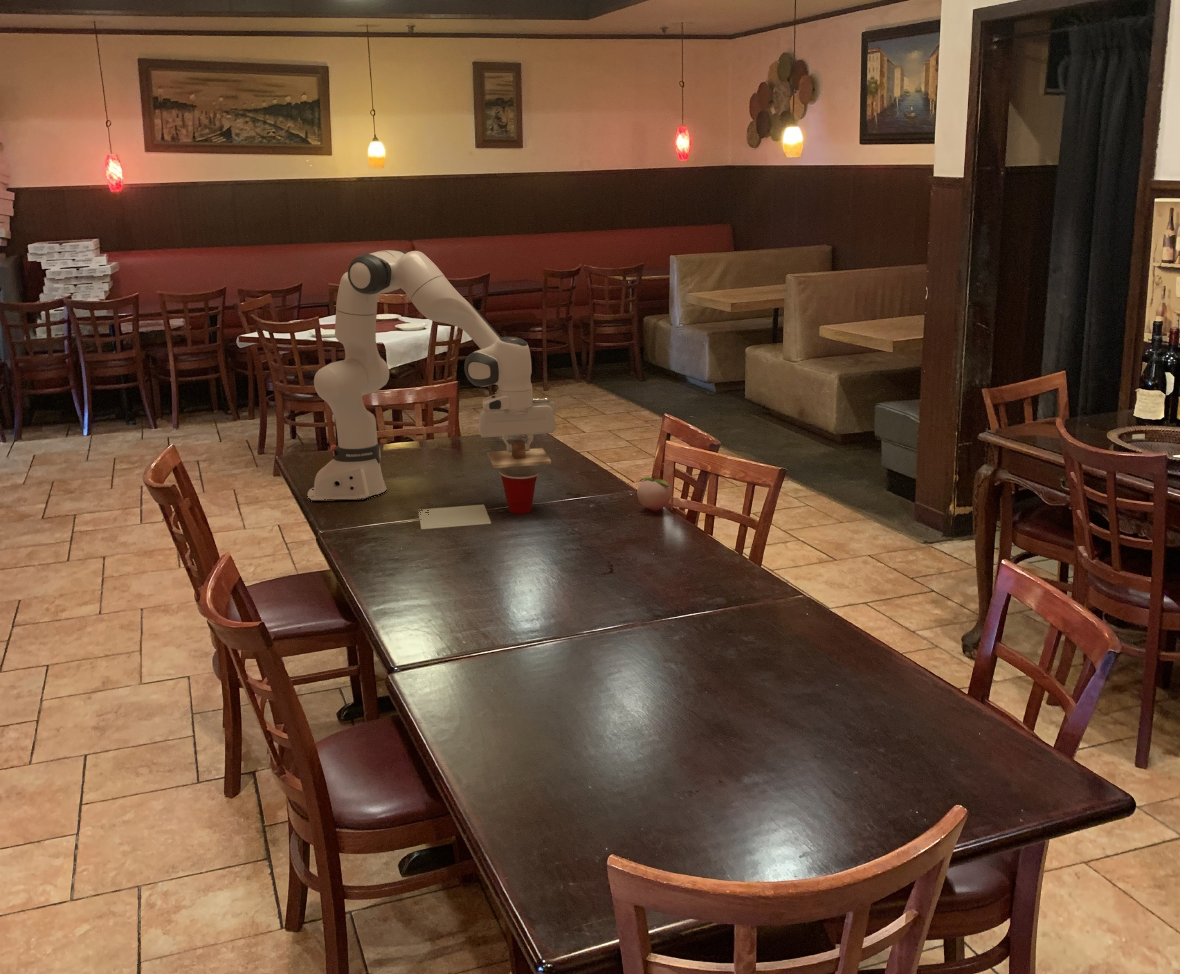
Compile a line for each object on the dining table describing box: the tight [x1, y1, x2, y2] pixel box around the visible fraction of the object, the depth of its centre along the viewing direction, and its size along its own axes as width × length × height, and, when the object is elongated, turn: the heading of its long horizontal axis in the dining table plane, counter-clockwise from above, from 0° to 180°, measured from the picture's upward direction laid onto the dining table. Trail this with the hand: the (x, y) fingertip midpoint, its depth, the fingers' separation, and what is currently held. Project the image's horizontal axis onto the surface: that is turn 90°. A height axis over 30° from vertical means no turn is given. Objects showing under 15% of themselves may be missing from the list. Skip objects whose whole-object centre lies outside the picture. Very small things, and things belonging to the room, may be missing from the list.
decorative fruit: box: [636, 474, 673, 512], centre depth 294 cm, size 9×8×10 cm
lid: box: [487, 438, 552, 469], centre depth 293 cm, size 15×15×5 cm
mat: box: [418, 504, 492, 530], centre depth 294 cm, size 18×18×1 cm
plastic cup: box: [498, 465, 540, 515], centre depth 296 cm, size 11×11×12 cm
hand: (518, 451), depth 293 cm, fingers closed on lid, 3 cm apart
